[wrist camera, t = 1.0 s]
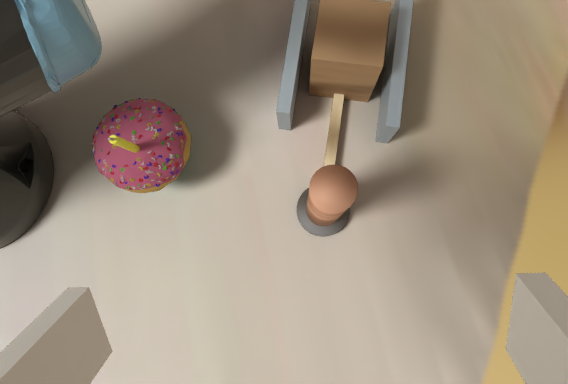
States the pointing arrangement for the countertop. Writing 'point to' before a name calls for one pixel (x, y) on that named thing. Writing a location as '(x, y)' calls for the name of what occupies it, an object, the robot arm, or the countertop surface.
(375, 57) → the tethered block
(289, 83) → the lane
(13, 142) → the robot arm
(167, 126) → the cupcake
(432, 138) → the countertop surface
